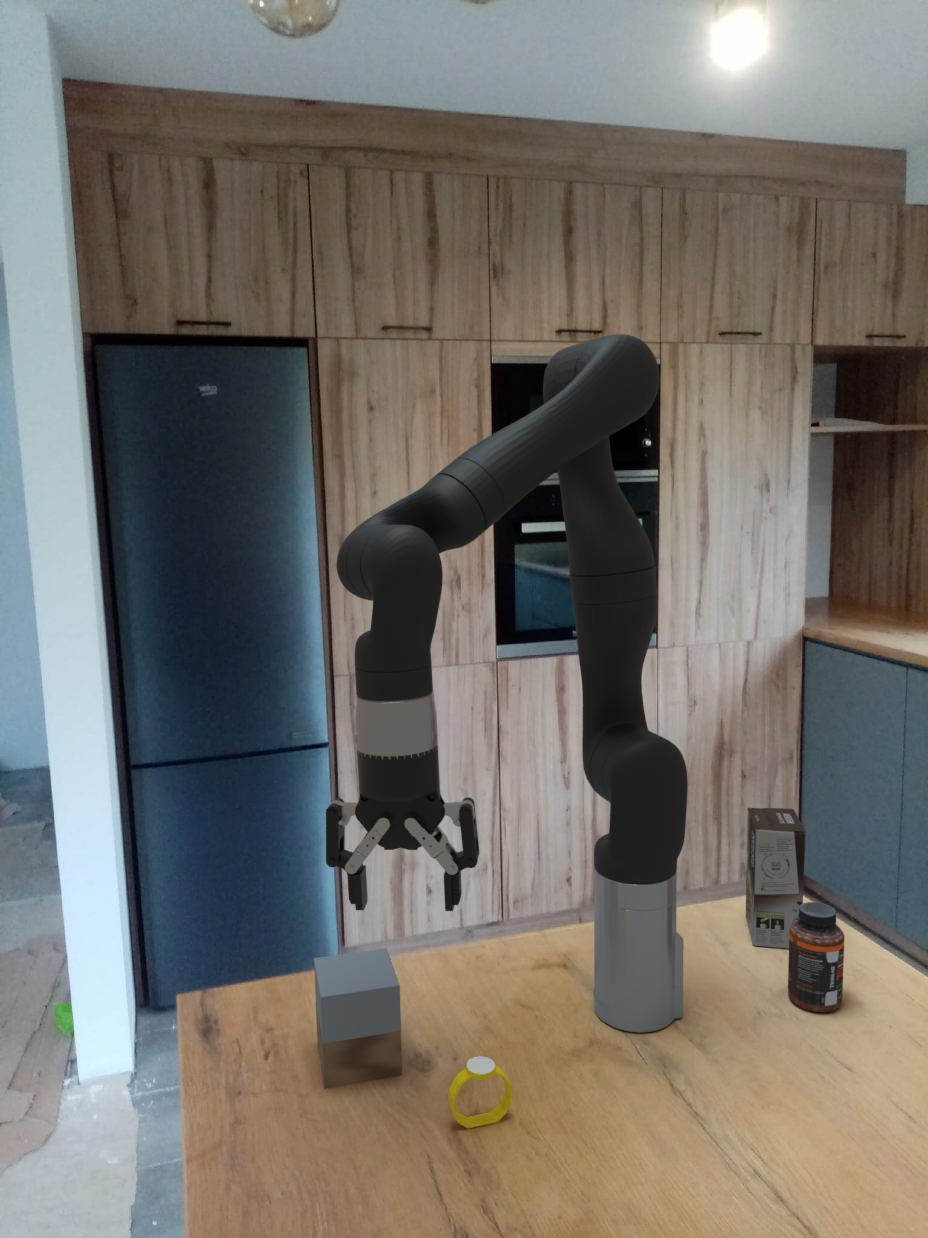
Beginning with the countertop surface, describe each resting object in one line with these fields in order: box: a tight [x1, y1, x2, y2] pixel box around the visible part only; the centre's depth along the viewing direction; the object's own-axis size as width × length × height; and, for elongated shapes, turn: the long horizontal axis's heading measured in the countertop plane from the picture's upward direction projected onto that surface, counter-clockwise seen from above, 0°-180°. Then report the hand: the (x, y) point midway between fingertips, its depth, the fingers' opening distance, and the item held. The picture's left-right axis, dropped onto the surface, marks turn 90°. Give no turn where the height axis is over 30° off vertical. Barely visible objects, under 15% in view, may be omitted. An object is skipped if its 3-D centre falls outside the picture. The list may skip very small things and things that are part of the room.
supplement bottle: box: [787, 901, 845, 1013], centre depth 103 cm, size 6×6×11 cm
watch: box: [448, 1055, 513, 1130], centre depth 84 cm, size 6×3×6 cm, turn 105°
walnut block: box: [315, 1004, 403, 1090], centre depth 94 cm, size 8×8×5 cm
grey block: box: [313, 947, 402, 1044], centre depth 94 cm, size 8×8×5 cm
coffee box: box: [745, 807, 807, 950], centre depth 119 cm, size 9×6×16 cm
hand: (405, 907), depth 84 cm, fingers open, 8 cm apart
